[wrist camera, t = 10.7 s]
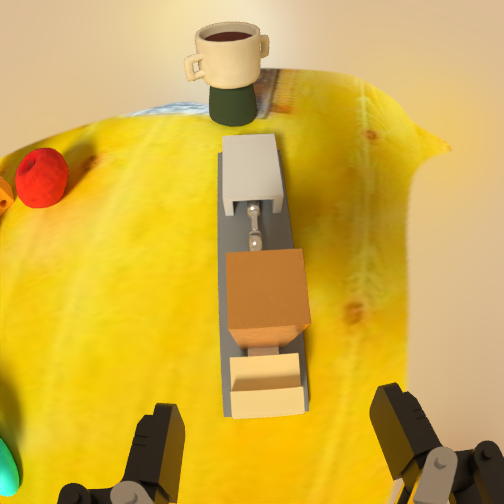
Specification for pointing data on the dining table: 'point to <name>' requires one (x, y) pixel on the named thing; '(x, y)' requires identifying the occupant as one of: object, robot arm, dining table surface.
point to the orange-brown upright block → (265, 294)
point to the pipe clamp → (5, 195)
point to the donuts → (7, 472)
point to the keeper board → (237, 240)
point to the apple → (41, 178)
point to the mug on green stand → (229, 69)
